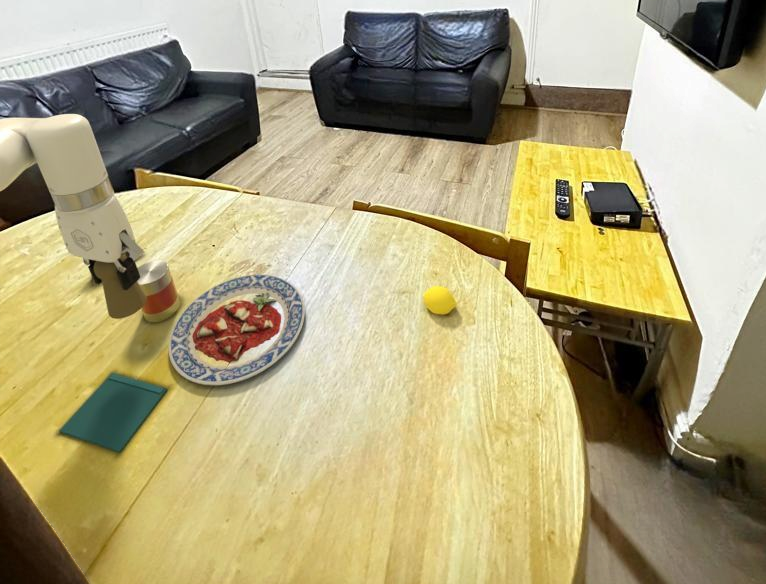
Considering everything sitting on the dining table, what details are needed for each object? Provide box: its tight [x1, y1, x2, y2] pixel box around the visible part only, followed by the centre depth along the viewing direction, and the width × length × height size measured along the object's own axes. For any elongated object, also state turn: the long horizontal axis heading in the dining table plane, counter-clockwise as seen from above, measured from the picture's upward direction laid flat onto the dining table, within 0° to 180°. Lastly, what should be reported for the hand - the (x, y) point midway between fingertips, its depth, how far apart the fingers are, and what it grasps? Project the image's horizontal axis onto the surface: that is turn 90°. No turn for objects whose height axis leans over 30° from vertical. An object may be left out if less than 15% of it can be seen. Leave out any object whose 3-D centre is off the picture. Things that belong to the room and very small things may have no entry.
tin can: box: [137, 259, 181, 323], centre depth 86 cm, size 7×7×11 cm
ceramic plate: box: [167, 274, 306, 386], centre depth 82 cm, size 26×26×3 cm
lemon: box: [422, 285, 458, 316], centre depth 85 cm, size 7×5×5 cm
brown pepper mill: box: [94, 253, 147, 320], centre depth 72 cm, size 6×6×11 cm
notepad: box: [58, 372, 168, 454], centre depth 68 cm, size 12×10×1 cm
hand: (117, 280), depth 72 cm, fingers closed on brown pepper mill, 5 cm apart
